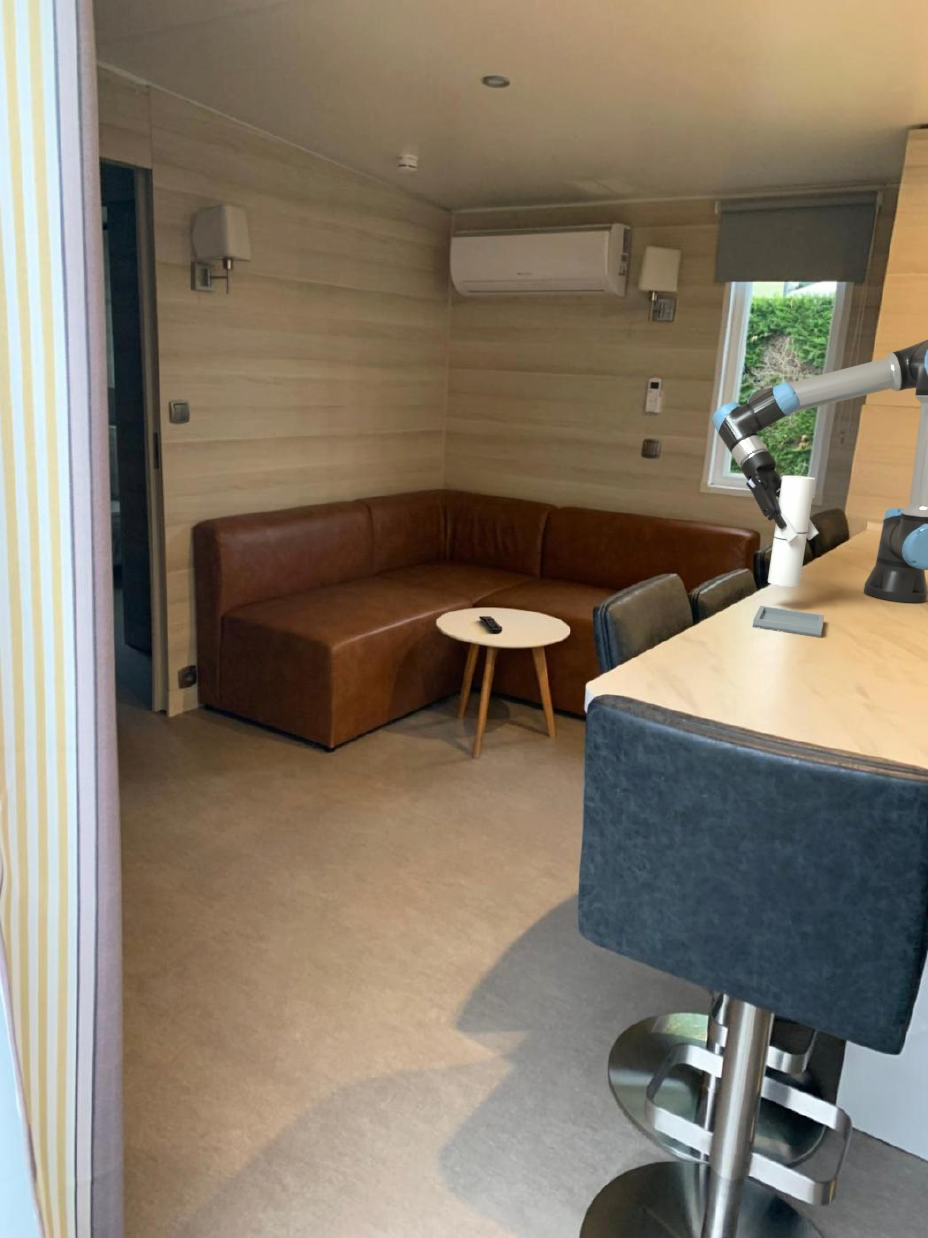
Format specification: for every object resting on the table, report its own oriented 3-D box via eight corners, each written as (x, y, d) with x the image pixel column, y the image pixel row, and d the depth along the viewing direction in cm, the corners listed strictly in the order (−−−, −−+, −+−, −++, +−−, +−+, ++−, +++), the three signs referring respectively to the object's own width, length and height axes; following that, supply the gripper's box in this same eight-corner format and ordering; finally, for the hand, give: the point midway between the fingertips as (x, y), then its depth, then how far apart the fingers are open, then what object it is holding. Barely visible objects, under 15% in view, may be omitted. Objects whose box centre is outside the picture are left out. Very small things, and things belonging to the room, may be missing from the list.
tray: (823, 622, 202) (824, 615, 201) (820, 637, 189) (821, 629, 189) (759, 613, 207) (760, 605, 207) (752, 626, 195) (753, 619, 194)
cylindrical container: (801, 587, 207) (817, 479, 200) (769, 584, 208) (784, 477, 202) (796, 581, 214) (812, 476, 207) (766, 578, 215) (780, 474, 209)
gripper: (769, 468, 222) (817, 543, 214) (717, 470, 211) (765, 550, 202) (790, 449, 217) (840, 525, 208) (738, 449, 205) (788, 530, 197)
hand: (803, 537), depth 205 cm, fingers closed on cylindrical container, 7 cm apart
